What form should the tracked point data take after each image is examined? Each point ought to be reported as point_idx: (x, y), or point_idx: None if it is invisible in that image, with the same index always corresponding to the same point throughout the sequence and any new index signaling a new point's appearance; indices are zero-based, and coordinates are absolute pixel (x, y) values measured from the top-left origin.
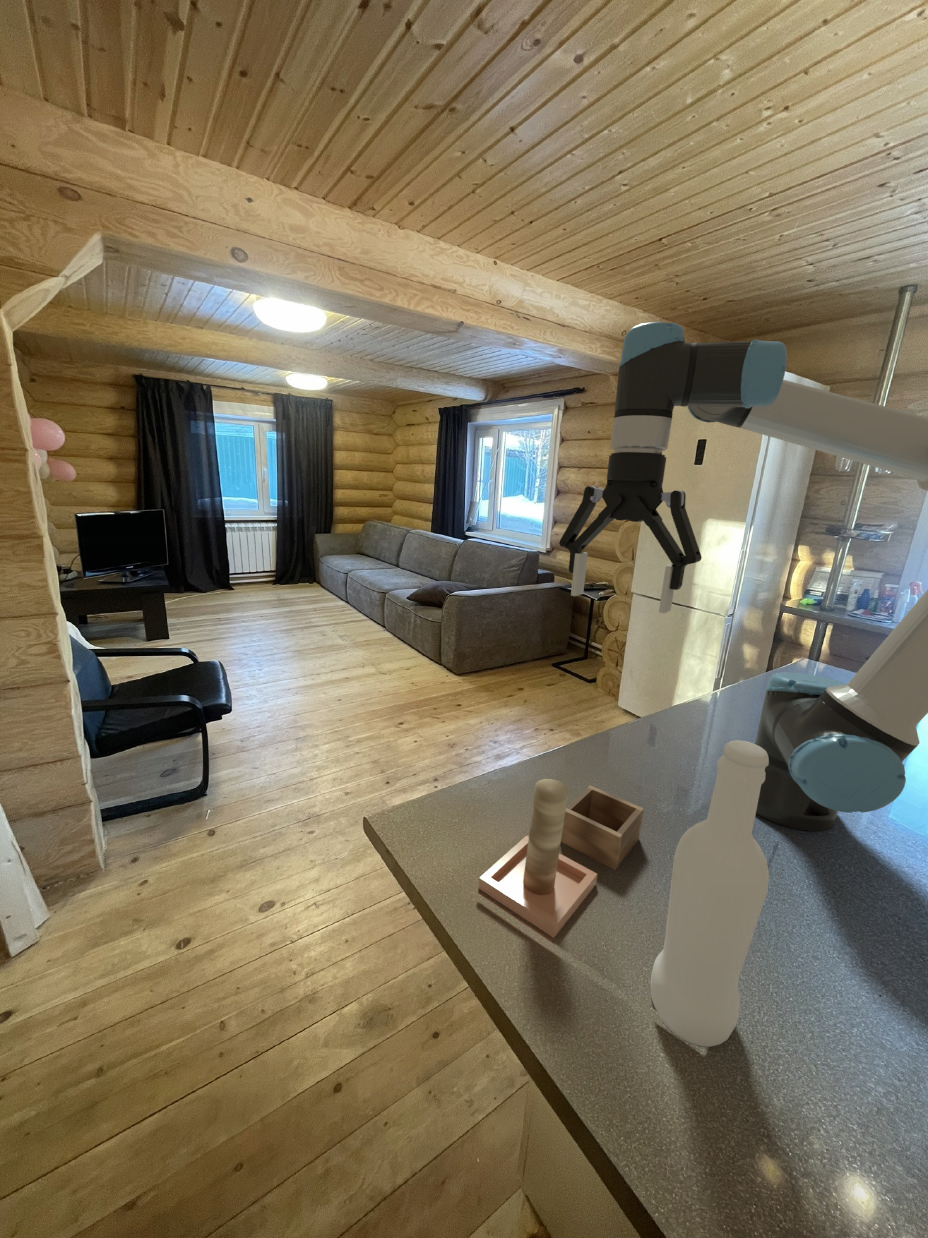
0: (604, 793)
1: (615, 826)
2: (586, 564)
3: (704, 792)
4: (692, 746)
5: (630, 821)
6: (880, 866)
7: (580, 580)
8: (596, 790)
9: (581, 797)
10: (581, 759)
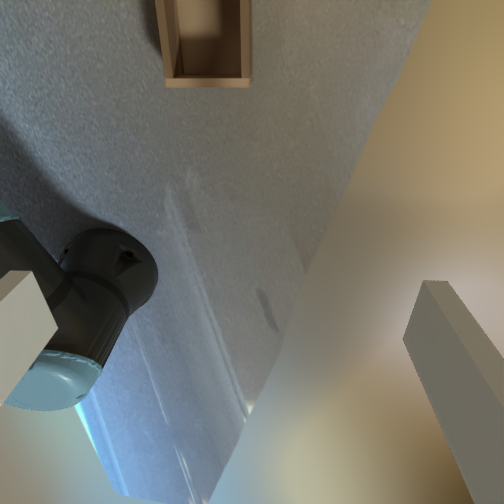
0: (223, 82)
1: (206, 74)
2: (466, 485)
3: (174, 236)
4: (222, 314)
5: (162, 37)
6: None
7: (442, 365)
8: (235, 80)
9: (243, 41)
10: (316, 207)
